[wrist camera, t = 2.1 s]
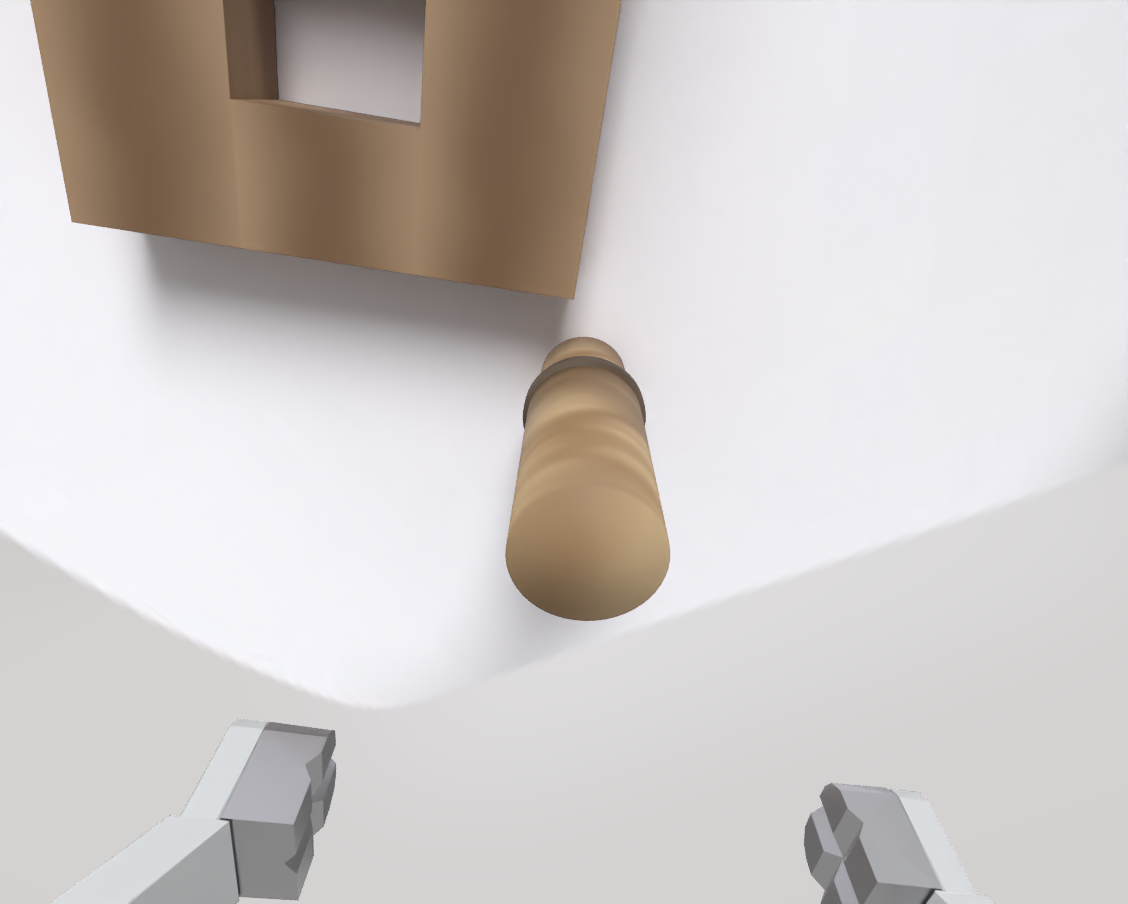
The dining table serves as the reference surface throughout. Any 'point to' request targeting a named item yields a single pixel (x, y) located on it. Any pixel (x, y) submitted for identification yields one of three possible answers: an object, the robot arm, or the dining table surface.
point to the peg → (586, 490)
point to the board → (337, 137)
